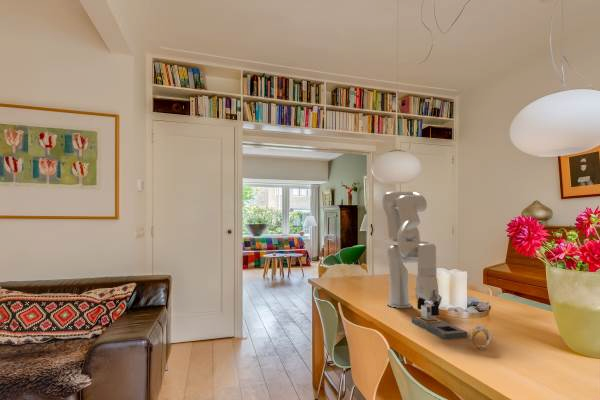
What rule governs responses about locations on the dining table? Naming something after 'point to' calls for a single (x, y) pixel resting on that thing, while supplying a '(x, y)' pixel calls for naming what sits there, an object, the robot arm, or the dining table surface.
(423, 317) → the peg
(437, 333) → the dark grey socket board
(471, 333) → the bracelet
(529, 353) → the dining table surface
